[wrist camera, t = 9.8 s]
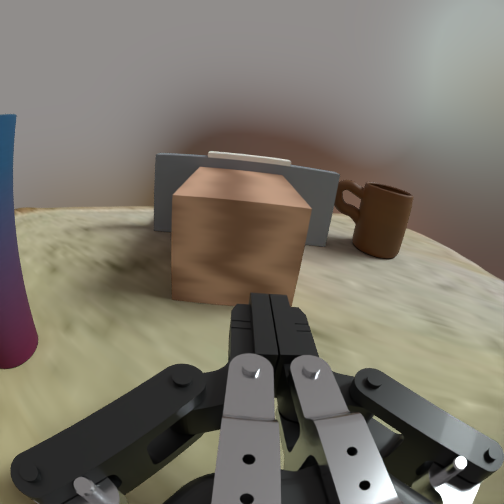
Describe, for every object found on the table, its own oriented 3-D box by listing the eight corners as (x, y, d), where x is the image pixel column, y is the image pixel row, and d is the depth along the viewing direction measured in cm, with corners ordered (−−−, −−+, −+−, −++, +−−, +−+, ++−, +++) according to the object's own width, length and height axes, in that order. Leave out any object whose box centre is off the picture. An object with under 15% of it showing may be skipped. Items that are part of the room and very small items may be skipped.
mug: (321, 246, 38) (335, 178, 35) (323, 229, 45) (334, 172, 41) (402, 264, 36) (420, 200, 32) (392, 245, 43) (407, 190, 39)
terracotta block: (271, 242, 38) (282, 175, 34) (290, 311, 24) (312, 208, 20) (195, 235, 37) (200, 166, 33) (172, 301, 23) (172, 195, 19)
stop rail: (312, 228, 45) (325, 163, 40) (324, 246, 38) (340, 170, 34) (166, 214, 42) (169, 145, 38) (153, 230, 36) (156, 149, 32)
